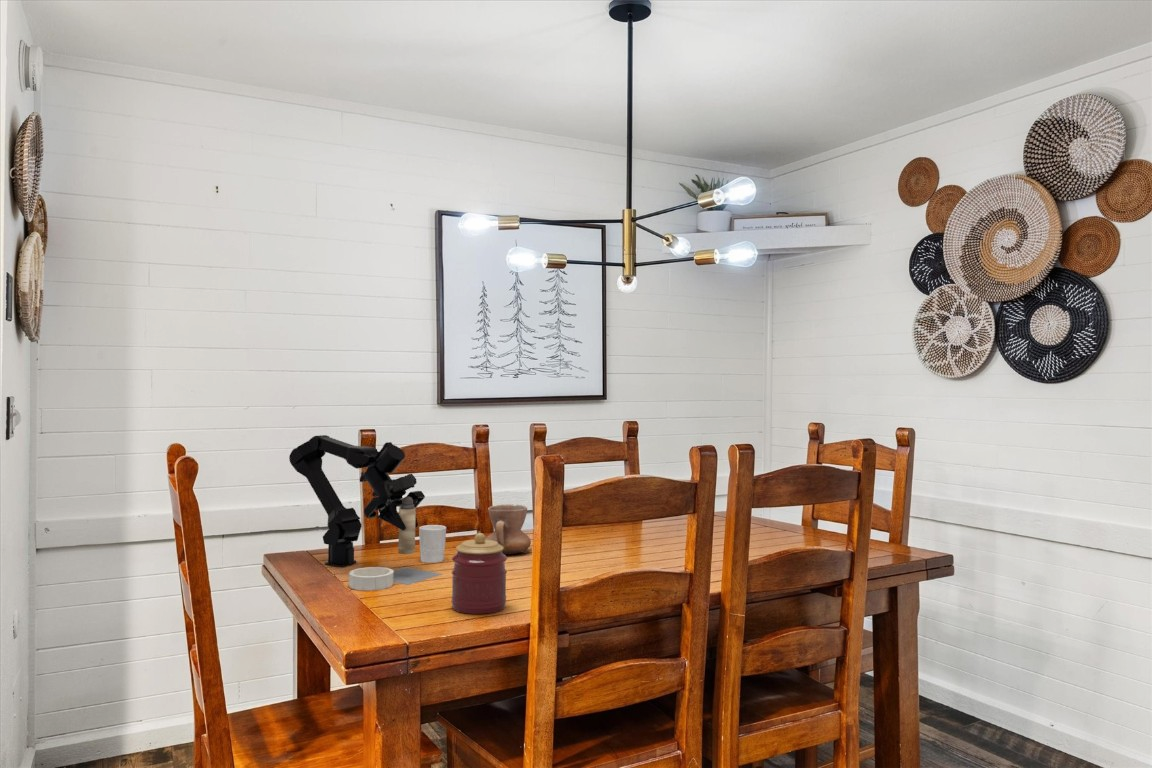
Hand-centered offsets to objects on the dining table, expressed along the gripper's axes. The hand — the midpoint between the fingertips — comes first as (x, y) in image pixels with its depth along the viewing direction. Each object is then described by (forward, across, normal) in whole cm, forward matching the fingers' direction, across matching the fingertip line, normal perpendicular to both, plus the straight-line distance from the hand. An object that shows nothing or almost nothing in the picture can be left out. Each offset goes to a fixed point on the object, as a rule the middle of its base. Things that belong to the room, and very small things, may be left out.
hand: (410, 528), depth 217 cm
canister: (+33, -12, -14) cm, 37 cm away
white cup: (+4, +18, +15) cm, 24 cm away
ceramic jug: (+12, +41, +8) cm, 43 cm away
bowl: (+8, -12, +11) cm, 18 cm away
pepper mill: (+4, 0, +6) cm, 7 cm away
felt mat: (+8, 0, +10) cm, 13 cm away
